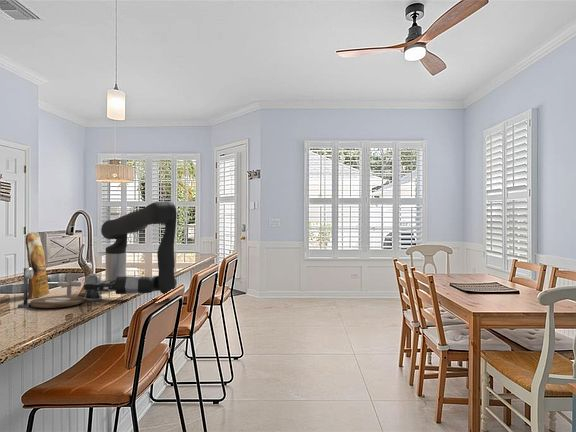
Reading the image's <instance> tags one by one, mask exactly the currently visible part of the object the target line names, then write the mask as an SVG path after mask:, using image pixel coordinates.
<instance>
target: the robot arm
mask: <svg viewBox="0 0 576 432" xmlns="http://www.w3.org/2000/svg"><path fill="white" fill-rule="evenodd" d="M177 216H178V215H177V207H176V204H175V203H174V202H172V201H170V200H165V201H156V202H152V203H150V204H148V205H147V206H145V207H142V209H137V210H134V211H131V212H128V213H127V214H124V215H122V216H120V217H118V218H117V217H116V218H115V219H109V220H105V221H104V222H103V223H102V225H101V228H100V232H101V235H102V236H103V238H104V239H107V240H115V241H114V242H113V244H110V245H108V246H106V247H105V257H104V258H105V271H104V273H105V277H104V278H105V279H104V280H100V283H99V284H84V285H83V290H84V291H85V290H94V291H100V292H110V291H111V292H112V290H113V291H115V294H116V295H136V294H150V293H152V292H159V291H160V293H162V295H165V293H167V292H168V291H170V290H171V289H174V288H175V289H176V287H177V284H178V282H177V279H176V278H175V267H176V266H175V265H176V264H175V238H176V237H175V236H176V228H177V227H176V225H177V218H178V217H177ZM160 224H164V234H163V236H162V239H161V241H160V243H159V246H158V249H157V254H156V255H157V257H156V258H157V267H158V275H156V276H131V275H130V276H129V275H128V276H126V274H127V273H126V270H127V269H126V268H127V266H126V265H127V263H126V262H127V261H126V260H127V259H126V258H127V257H126V256H127V253H126V252H127V247H128V234H134V233H138V232H141V231H143V230H145V229H146V228H147V227H148V226H150V225H151V226H152V225H160ZM97 286H99V288H97Z"/></svg>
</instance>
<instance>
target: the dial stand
mask: <svg viewBox="0 0 576 432" xmlns="http://www.w3.org/2000/svg"><path fill="white" fill-rule="evenodd" d="M32 277H33V268H29V267H24V268H23V302H21V303H19V304H17V309H23V308H24V309H25V308H28V309H29V308H32V306H30V302H28V301H29V300H28V299H29V298H28V282H29V279H32Z"/></svg>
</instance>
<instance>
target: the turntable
mask: <svg viewBox="0 0 576 432" xmlns="http://www.w3.org/2000/svg"><path fill="white" fill-rule="evenodd" d="M84 302H85V301H84V298H83V296H80V295H71V296H67V295H52V296H45V297H44V296H43V297H38V298H33V299H32V300H30V301H29V303H30V306H31V308H38V309H58V308H65V307H66V308H67V307H72V306H76V305H80V304H82V303H84Z"/></svg>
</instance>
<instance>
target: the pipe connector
mask: <svg viewBox="0 0 576 432" xmlns="http://www.w3.org/2000/svg"><path fill="white" fill-rule="evenodd" d="M72 275H73V273H72V272H67V273H66V281H58V282H57V286H58V287H61V289H62V288H66V296H72V287H81V286H82V282H78V280H72V279H73V278H72Z"/></svg>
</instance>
